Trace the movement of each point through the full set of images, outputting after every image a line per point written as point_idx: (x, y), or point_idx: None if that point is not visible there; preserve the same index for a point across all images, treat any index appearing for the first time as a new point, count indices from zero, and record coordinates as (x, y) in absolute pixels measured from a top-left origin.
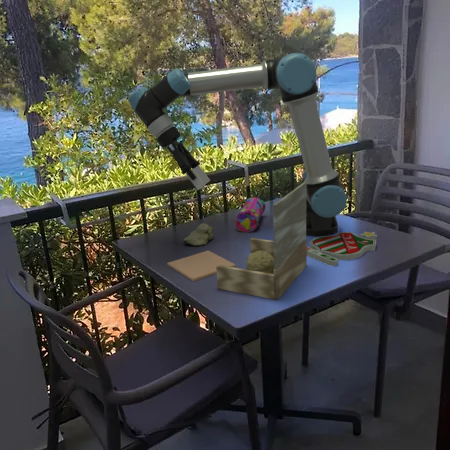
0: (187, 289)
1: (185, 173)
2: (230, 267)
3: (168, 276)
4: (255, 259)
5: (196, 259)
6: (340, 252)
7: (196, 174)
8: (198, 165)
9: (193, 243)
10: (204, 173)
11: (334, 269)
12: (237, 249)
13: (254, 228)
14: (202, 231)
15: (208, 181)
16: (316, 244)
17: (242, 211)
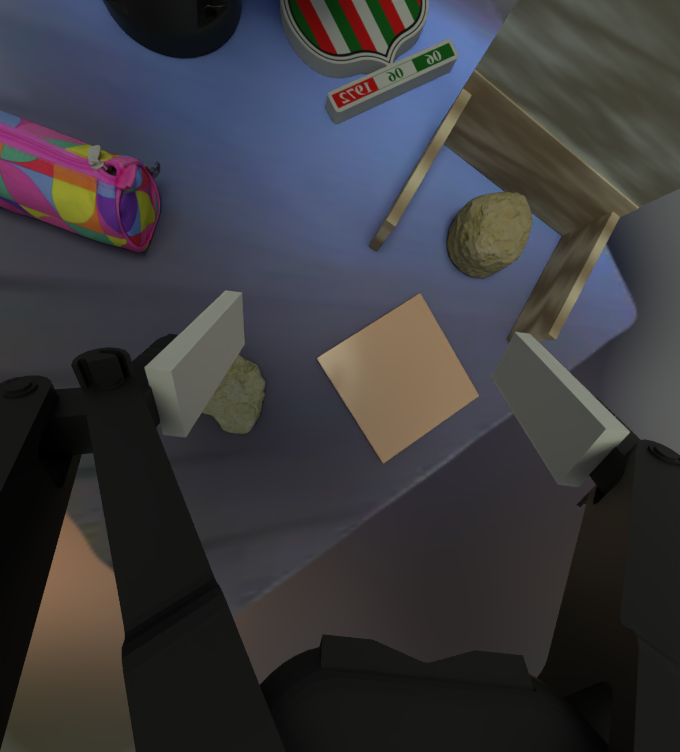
0: (507, 405)
1: (579, 486)
2: (566, 305)
3: (442, 452)
4: (520, 239)
5: (373, 390)
6: (408, 12)
7: (581, 387)
8: (172, 372)
9: (260, 401)
10: (215, 322)
11: (463, 73)
12: (305, 276)
13: (158, 193)
14: None
15: (240, 306)
16: (343, 49)
17: (108, 198)
